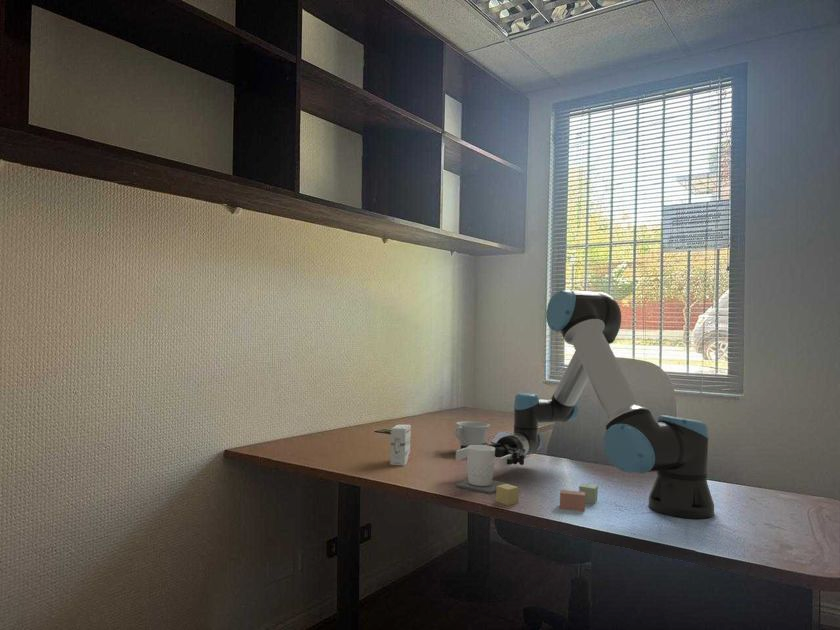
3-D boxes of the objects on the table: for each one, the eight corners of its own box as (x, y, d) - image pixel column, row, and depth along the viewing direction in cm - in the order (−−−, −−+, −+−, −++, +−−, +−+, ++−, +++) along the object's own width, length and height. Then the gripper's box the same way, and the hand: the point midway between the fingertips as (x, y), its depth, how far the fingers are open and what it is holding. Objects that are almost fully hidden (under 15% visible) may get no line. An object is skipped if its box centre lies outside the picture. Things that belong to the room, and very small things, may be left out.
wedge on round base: (490, 451, 213) (517, 458, 203) (491, 432, 213) (518, 438, 203) (508, 448, 219) (535, 455, 209) (508, 430, 219) (535, 435, 209)
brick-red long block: (584, 508, 149) (584, 492, 149) (584, 511, 146) (585, 495, 146) (559, 505, 150) (560, 489, 150) (559, 509, 147) (560, 492, 147)
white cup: (461, 480, 169) (462, 445, 169) (486, 478, 171) (487, 444, 172) (473, 487, 161) (475, 450, 161) (499, 485, 164) (500, 449, 164)
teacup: (442, 452, 208) (443, 423, 209) (469, 446, 219) (470, 419, 219) (469, 458, 200) (470, 428, 200) (495, 452, 211) (496, 424, 211)
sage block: (597, 500, 156) (597, 484, 156) (594, 504, 152) (595, 488, 152) (581, 497, 157) (582, 482, 157) (579, 501, 154) (579, 486, 154)
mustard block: (518, 502, 151) (518, 487, 151) (507, 505, 149) (508, 489, 149) (506, 499, 154) (506, 483, 154) (496, 501, 152) (496, 486, 152)
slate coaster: (509, 485, 167) (509, 483, 167) (491, 494, 158) (491, 491, 158) (475, 478, 173) (475, 476, 173) (455, 486, 164) (455, 484, 164)
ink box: (396, 459, 196) (397, 423, 196) (410, 460, 195) (411, 424, 195) (389, 465, 187) (390, 427, 187) (404, 466, 186) (405, 428, 186)
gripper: (550, 466, 173) (519, 480, 156) (475, 453, 188) (439, 465, 170) (550, 440, 174) (519, 452, 156) (476, 430, 188) (440, 439, 170)
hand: (477, 459), depth 163 cm, fingers open, 13 cm apart
